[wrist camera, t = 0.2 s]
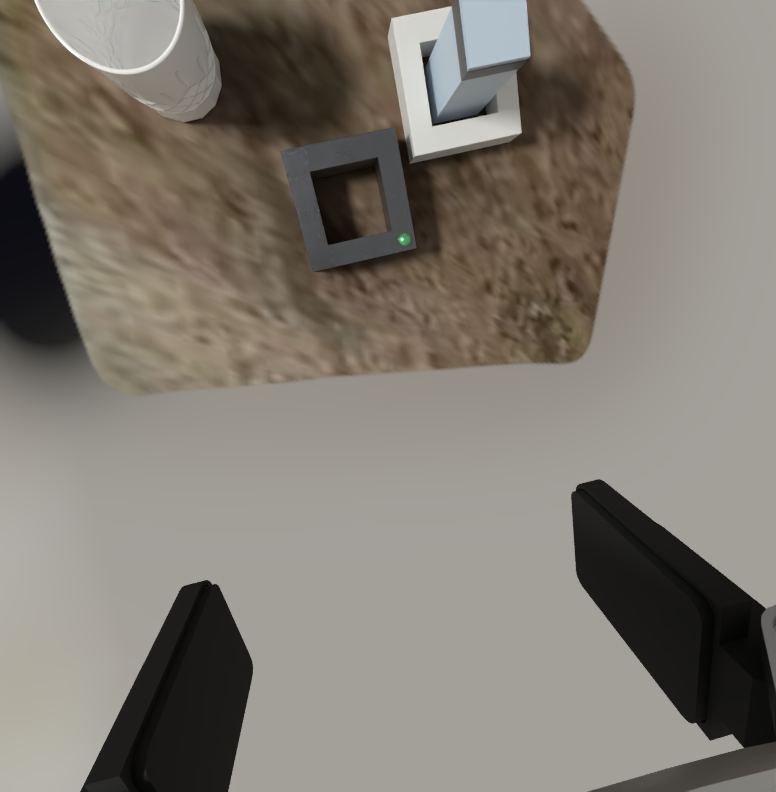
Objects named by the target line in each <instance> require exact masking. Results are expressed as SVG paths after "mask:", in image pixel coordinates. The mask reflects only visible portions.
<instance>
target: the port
mask: <svg viewBox="0 0 776 792" xmlns="http://www.w3.org/2000/svg"><path fill="white" fill-rule="evenodd" d="M281 154H282V158H283V162H284V165H285V169H286V173H287V177H288V181H289V184H290V188H291V192H292V196H293V199H294V203H295V207H296V211H297V214H298V218H299V222H300V226H301V229H302V233H303V237H304V241H305V244H306V248H307V252H308V256H309V259H310V263H311V267H312V271H313V272H315V271H320V270H324V269H328V268H333V267H337V266H342V265H346V264H350V263H355V262H359V261H363V260H368V259H372V258H377V257H381V256H385V255H390V254H394V253H399V252H403V251H407V250H412V249H415V248H417V247H416V241H415V236H414V230H413V225H412V219H411V214H410V208H409V202H408V197H407V191H406V186H405V180H404V174H403V169H402V163H401V158H400V152H399V146H398V141H397V135H396V130H395V127H392V128H387V129H382V130H377V131H373V132H368V133H363V134H359V135H354V136H349V137H345V138H340V139H335V140H330V141H326V142H321V143H316V144H312V145H307V146H302V147H297V148H293V149H288V150H283V151H281ZM373 166H375V171H376V176H377V181H378V186H379V191H380V196H381V201H382V206H383V211H384V216H385V221H386V226H387V231H388V232H384V233H380V234H376V235H371V236H367V237H362V238H358V239H353V240H349V241H344V242H340V243H336V244H331V245H328V242H327V238H326V234H325V230H324V226H323V222H322V218H321V214H320V210H319V206H318V202H317V198H316V194H315V190H314V186H313V182H312V180H313V179H318V178H322V177H327V176H332V175H336V174H341V173H345V172H350V171H355V170H359V169H364V168H368V167H373Z"/></svg>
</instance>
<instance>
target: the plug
mask: <svg viewBox="0 0 776 792" xmlns="http://www.w3.org/2000/svg"><path fill="white" fill-rule="evenodd" d="M529 57H530V43H529V31H528V18H527V5H526V0H453V2H452V7H451V9H450V12H449V14H448V16H447V19H446V21H445V23H444V26H443V28H442V30H441V32H440V35H439V37H438V39H437V42H436V44H435V46H434V49H433V51H432V53H431V55H430V58H429V60H428V62H427V65H426V67H425V75H426V82H427V88H428V95H429V101H430V108H431V115H432V121H433V124H436V123H440V122H445V121H450V120H455V119H459V118H464V117H469V116H473V115H477V114H478V113H479V112H480V111H481V110H482V109H483V108H484V107H485V106H486V105H487V103H488V102H489V101H490V100H491V99H492V98H493V97H494V96H495V95H496V93H497V92H498V91H499V90H500V89H501V88H502V87H503V86H504V85H505V84H506V82H507V81H508V80H509V79H510V78H511V77H512V76H513V75H514V74H515V72H516V71H517V70H518V69H521V67H522V66H523V65H524V64H525V63H526V62H527V61H528V58H529Z"/></svg>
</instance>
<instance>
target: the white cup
mask: <svg viewBox="0 0 776 792" xmlns="http://www.w3.org/2000/svg"><path fill="white" fill-rule="evenodd" d="M34 1H35V3H36V5H37V8H38V10H39V12H40V14H41V16H42V17H43V19H44V21H45V22H46V24H47V25H48V27H49V28H50V30H51V31H52V32H53V34H54V35H55V36H56V37H57V39H58V40H59V41H60V42H61V43H62V44H63V45H64V46H65V47H66V48H67V49H68V50H69V51H70V52H72V53H73V54H74V55H75V56H77V57H78V58H79V59H81V60H82V61H84V62H85V63H86V64H88V65H89V66H91V67H92V68H93V69H95V70H96V71H98V72H99V73H100V74H102V75H103V76H104V77H106V78H107V79H109V80H110V81H111V82H113V83H114V84H115V85H117V86H118V87H120V88H121V89H122V90H124V91H125V92H126V93H128V94H130V95H131V96H133V97H134V98H135V99H137V100H138V101H140V102H142V103H143V104H145V105H147V106H149V107H151V108H152V109H154V110H155V111H156V112H158V113H159V114H160V115H162V116H163V117H166V118H170V119H173V120H177V121H180V122H188V121H192V120H197V119H201V118H203V117H204V116H205V115H206V114H207V113H208V112H209V111H210V110H211V109H212V108H213V107H214V106H215V105H216V103H217V100H218V96H219V93H220V90H221V87H222V82H221V73H220V64H219V60H218V58H217V56H216V54H215V52H214V50H213V48H212V45H211V42H210V39H209V36H208V33H207V31H206V28H205V26H204V24H203V21H202V19H201V16H200V14H199V12H198V10H197V8H196V6H195V3H194V1H193V0H34Z"/></svg>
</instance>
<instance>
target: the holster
mask: <svg viewBox="0 0 776 792" xmlns="http://www.w3.org/2000/svg"><path fill="white" fill-rule="evenodd" d="M451 7H452V6H451ZM451 7H446V8H441V9H436V10H431V11H426V12H421V13H416V14H411V15H406V16H401V17H396V18H392V19H391V24H390V29H389V33H388V41H389V47H390V53H391V59H392V64H393V70H394V76H395V82H396V88H397V93H398V99H399V105H400V111H401V116H402V122H403V128H404V134H405V140H406V145H407V151H408V157H409V163H410V164H411V163H416V162H420V161H425V160H430V159H434V158H439V157H443V156H448V155H453V154H457V153H462V152H466V151H471V150H476V149H480V148H485V147H489V146H494V145H499V144H503V143H508V142H510V141H512V140H513V139H514V138H516V137H517V136H518V135H520V134H521V133H522V131H521V120H520V109H519V97H518V86H517V75H516V72H515V74H514V75H513V76H512V77H511V78H510V79H509V80H508V81H507V82H506V84H505V85H504V86H503V87H502V88H501V89H500V90H499V91H498V92H497V93H496V95H495V96H494V97H493V98H492V99H491V100H490V101H489V102H488V103H487V105H486V115H484V116H480V117H475V118H470V119H466V120H461V121H456V122H452V123H447V124H442V125H438V126H433V127H432V122H431V115H430V109H429V102H428V95H427V89H426V82H425V76H424V69H423V63H422V57H427V56H430V55H431V53H432V51H433V49H434V46H435V44H436V42H437V39H438V37H439V35H440V32H441V30H442V28H443V26H444V23H445V21H446V19H447V16H448V14H449V12H450V9H451Z"/></svg>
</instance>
